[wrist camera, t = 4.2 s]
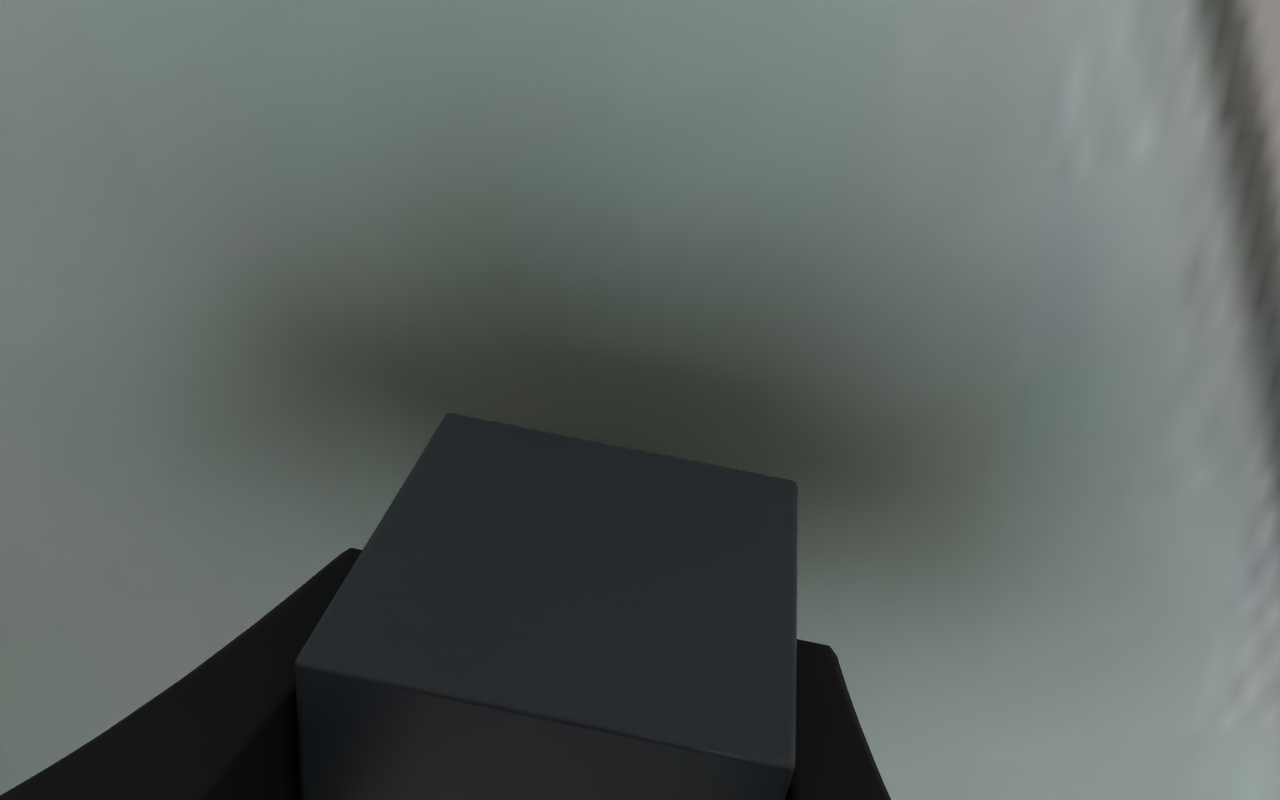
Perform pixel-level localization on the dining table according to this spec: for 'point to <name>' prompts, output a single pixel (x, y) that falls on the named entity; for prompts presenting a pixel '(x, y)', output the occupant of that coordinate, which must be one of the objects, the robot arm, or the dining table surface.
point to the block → (559, 630)
